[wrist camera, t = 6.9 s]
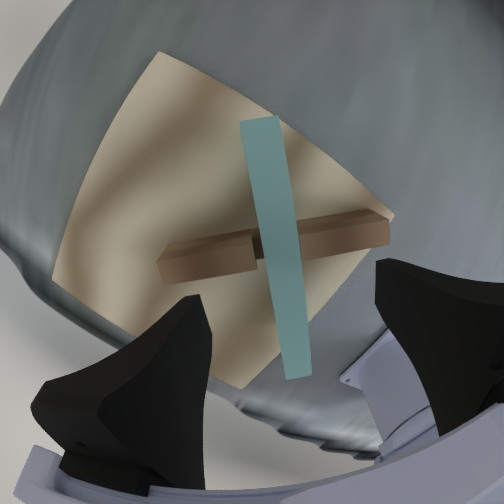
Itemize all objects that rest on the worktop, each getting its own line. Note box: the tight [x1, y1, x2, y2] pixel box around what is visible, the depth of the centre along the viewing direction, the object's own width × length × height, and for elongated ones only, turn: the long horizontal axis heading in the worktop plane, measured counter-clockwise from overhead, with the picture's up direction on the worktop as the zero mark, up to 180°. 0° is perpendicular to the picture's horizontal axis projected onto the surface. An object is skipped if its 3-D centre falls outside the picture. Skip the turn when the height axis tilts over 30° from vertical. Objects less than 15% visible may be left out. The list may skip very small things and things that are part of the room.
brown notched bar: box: [156, 209, 390, 286], centre depth 17 cm, size 14×2×3 cm, turn 100°
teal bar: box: [239, 115, 312, 380], centre depth 15 cm, size 14×2×6 cm, turn 11°
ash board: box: [52, 51, 395, 389], centre depth 19 cm, size 20×20×1 cm
